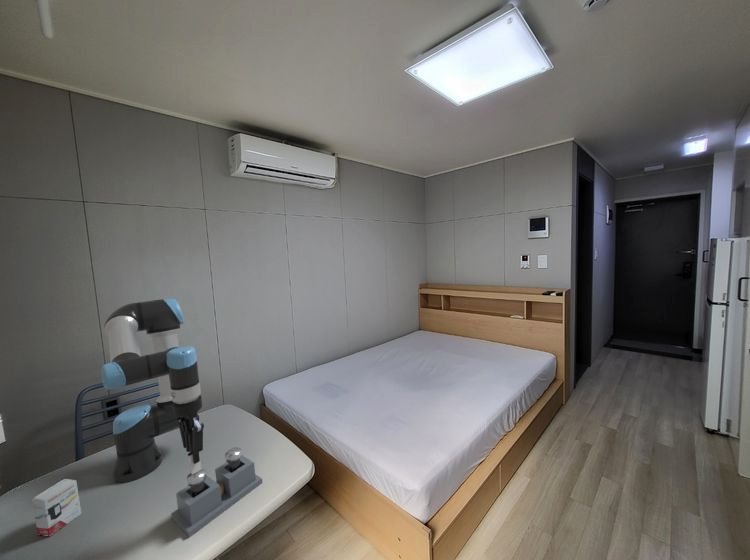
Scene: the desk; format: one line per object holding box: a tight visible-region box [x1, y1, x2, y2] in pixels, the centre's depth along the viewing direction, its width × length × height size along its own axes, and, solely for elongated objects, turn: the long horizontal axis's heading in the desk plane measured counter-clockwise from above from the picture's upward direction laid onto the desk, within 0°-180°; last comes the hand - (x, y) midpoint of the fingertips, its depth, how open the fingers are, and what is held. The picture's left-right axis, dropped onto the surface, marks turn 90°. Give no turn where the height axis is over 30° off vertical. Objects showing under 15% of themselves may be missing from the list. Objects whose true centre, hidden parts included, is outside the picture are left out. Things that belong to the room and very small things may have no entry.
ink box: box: [31, 478, 82, 536], centre depth 93 cm, size 9×5×12 cm, turn 168°
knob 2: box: [224, 447, 243, 473], centre depth 103 cm, size 5×5×8 cm
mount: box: [170, 455, 263, 538], centre depth 99 cm, size 12×24×8 cm, turn 145°
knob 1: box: [186, 468, 207, 498], centre depth 94 cm, size 5×5×8 cm
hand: (195, 470), depth 93 cm, fingers closed
